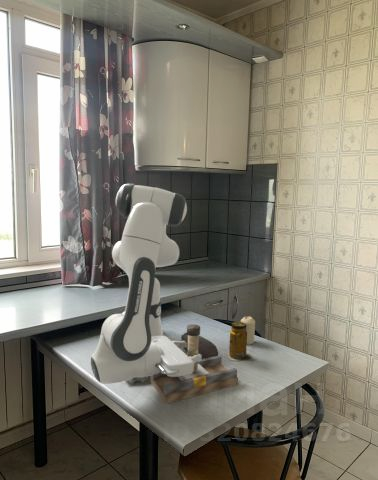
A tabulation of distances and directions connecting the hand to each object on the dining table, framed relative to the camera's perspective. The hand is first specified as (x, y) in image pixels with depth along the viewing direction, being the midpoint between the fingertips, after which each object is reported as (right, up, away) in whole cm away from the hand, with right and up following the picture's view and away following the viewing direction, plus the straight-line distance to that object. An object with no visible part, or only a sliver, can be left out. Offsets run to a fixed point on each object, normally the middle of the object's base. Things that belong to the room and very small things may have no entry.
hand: (192, 350), depth 113 cm
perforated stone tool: (+3, -8, +21) cm, 23 cm away
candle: (+22, -7, +34) cm, 40 cm away
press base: (0, -11, +2) cm, 11 cm away
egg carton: (-18, -10, +7) cm, 22 cm away
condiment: (+17, -9, +21) cm, 29 cm away
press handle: (0, -9, +1) cm, 9 cm away
